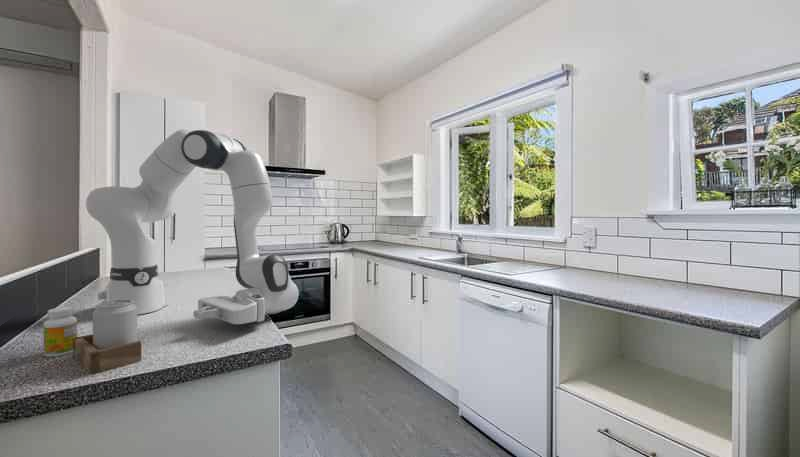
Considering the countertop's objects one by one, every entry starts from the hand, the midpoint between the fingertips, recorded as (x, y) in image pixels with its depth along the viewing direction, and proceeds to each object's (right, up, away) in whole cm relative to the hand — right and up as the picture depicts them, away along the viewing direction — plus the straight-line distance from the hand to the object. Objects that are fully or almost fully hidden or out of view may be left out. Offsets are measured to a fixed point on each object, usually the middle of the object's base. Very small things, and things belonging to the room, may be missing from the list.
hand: (195, 315), depth 89 cm
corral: (-11, -6, -14) cm, 19 cm away
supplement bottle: (-23, -6, -11) cm, 26 cm away
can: (-9, -6, -13) cm, 17 cm away
